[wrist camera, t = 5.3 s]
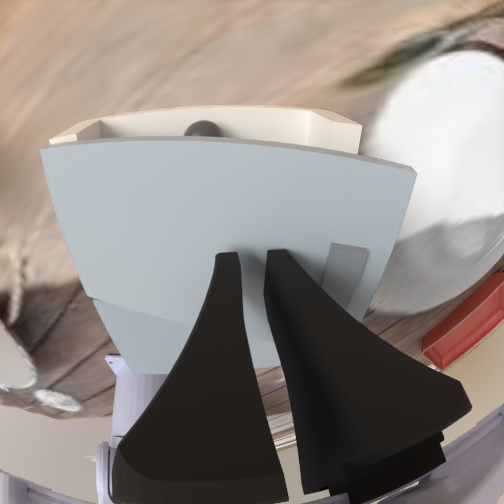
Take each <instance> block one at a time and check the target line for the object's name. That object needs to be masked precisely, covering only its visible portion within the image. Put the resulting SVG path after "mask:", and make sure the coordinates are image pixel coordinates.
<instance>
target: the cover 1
mask: <svg viewBox="0 0 504 504" xmlns="http://www.w3.org/2000/svg"><path fill="white" fill-rule="evenodd" d="M40 152H41V157H42V162H43V167H44V171H45V175H46V180H47V184H48V188H49V191H50V195H51V199H52V202H53V206H54V209H55V212H56V215H57V219H58V222H59V225H60V228H61V231H62V234H63V237H64V239H65V242H66V245H67V248H68V250H69V253H70V256H71V258H72V261H73V263H74V266H75V268H76V271H77V273H78V275H79V278H80V280H81V282H82V285H83V287H84V289H85V291H86V294H87V296H90V297H93V298H96V299H99V300H102V301H105V302H108V303H111V304H115V305H118V306H121V307H125V308H128V309H131V310H135V311H138V312H142V313H145V314H149V315H152V316H156V317H160V318H164V319H167V320H171V321H175V322H179V323H183V324H187V325H192V326H194V325H195V323H196V320H197V318H198V315H199V313H200V310H201V308H202V306H203V303H204V300H205V297H206V294H207V291H208V288H209V285H210V282H211V278H212V274H213V270H214V264H215V255H216V254H218V253H222V252H237V253H238V256H239V260H240V264H241V276H242V295H243V312H244V322H245V328H246V333H247V338H253V339H258V340H264V341H269V342H274V340H273V336H272V333H271V330H270V326H269V323H268V319H267V314H266V308H265V302H264V296H263V290H264V280H265V269H266V259H267V250H276V249H286V250H287V251H288V252H289V253H290V254H291V256H292V257H293V258H294V259H295V260H296V261H297V262H298V263H299V264H300V265H301V267H302V268H303V269H304V270H305V271H306V272H307V273H308V274H309V275H310V276H311V277H312V278H313V279H314V281H315V282H316V283H317V284H318V285H319V286H320V287H321V288H322V289H323V290H324V291H325V292H326V293H327V294H328V295H329V296H330V297H331V298H332V299H333V300H335V301H336V302H337V303H338V304H339V305H340V306H341V307H342V308H343V309H344V310H345V311H347V312H348V313H349V314H350V315H351V316H353V317H354V318H355V319H356V320H357V321H359V322H360V323H361V322H362V320H363V317H364V315H365V313H366V311H367V309H368V307H369V305H370V303H371V300H372V298H373V296H374V294H375V291H376V289H377V287H378V285H379V282H380V280H381V277H382V275H383V273H384V270H385V268H386V265H387V263H388V260H389V258H390V255H391V252H392V250H393V247H394V244H395V242H396V239H397V236H398V233H399V231H400V228H401V225H402V222H403V219H404V216H405V213H406V210H407V207H408V203H409V200H410V197H411V194H412V190H413V187H414V183H415V180H416V176H417V173H416V172H415V171H414V170H413V168H412V167H410V166H406V165H402V164H398V163H394V162H390V161H386V160H381V159H377V158H372V157H368V156H363V155H358V154H353V153H348V152H342V151H337V150H331V149H325V148H319V147H312V146H305V145H298V144H290V143H282V142H273V141H263V140H252V139H240V138H225V137H203V136H139V137H118V138H103V139H91V140H81V141H72V142H64V143H56V144H49V145H47V146H45V147H43V148H41V149H40Z"/></svg>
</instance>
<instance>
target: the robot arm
mask: <svg viewBox="0 0 504 504" xmlns="http://www.w3.org/2000/svg"><path fill="white" fill-rule="evenodd" d="M263 296H264V302H265V308H266V314H267V319H268V323H269V326H270V330H271V333H272V336H273V340H274V343H275V346H276V350H277V353H278V356H279V359H280V363H281V366H282V369H283V372H284V376H285V380H286V384H287V389H288V394H289V400H290V405H291V410H292V416H293V422H294V428H295V435H296V441H297V448H298V455H299V464H300V472H301V482H302V488H303V492H304V495H306V494H311V493H315V492H319V491H323V490H327V489H329V493H330V497H326V498H323V499H319V500H315V501H311V502H307V503H303V504H370V503H372V502H374V501H377V500H380V499H382V498H384V497H386V496H389V495H390V496H389V497H387V498H385V499H383V500H382V501H380V502H378V503H377V504H496V503H497V502H498V500H499V499H500V497H501V496H502V494H503V493H504V404H503V405H501V406H500V407H498V408H497V409H495V410H494V411H493V412H491V413H490V414H489V415H487V416H486V417H485V418H483V419H482V420H481V421H479V422H478V423H477V424H476V426H475V427H473V428H472V429H470V430H469V431H467V432H466V433H464V434H463V435H461V436H460V437H458V438H457V439H455V440H454V441H452V442H451V443H449V444H448V445H446V446H444V447H443V448H442V447H441V445H440V442H442V441H444V436H443V433H442V430H444V429H445V428H447V427H448V426H450V425H452V424H453V423H454V422H456V421H457V420H459V419H460V418H462V417H463V416H464V415H466V414H467V413H468V412H469V411H471V408H472V405H471V403H470V401H469V398H468V396H467V394H466V392H465V390H464V388H463V386H462V384H461V382H460V381H458V380H456V379H454V378H451V377H449V376H447V375H445V374H442V373H440V372H438V371H436V370H434V369H431V368H429V367H428V366H426V365H424V364H422V363H420V362H418V361H417V360H415V359H413V358H411V357H409V356H408V355H406V354H404V353H403V352H401V351H399V350H398V349H396V348H395V347H393V346H392V345H390V344H389V343H387V342H386V341H384V340H383V339H381V338H380V337H378V336H377V335H376V334H374V333H373V332H372V331H370V330H369V329H368V328H366V327H365V326H364V325H363V324H361V323H360V322H359V321H357V320H356V319H355V318H354V317H353V316H351V315H350V314H349V313H348V312H347V311H345V310H344V309H343V308H342V307H341V306H340V305H339V304H338V303H337V302H336V301H335V300H333V299H332V298H331V297H330V296H329V295H328V294H327V293H326V292H325V291H324V290H323V289H322V288H321V287H320V286H319V285H318V284H317V283H316V282H315V281H314V279H313V278H312V277H311V276H310V275H309V274H308V273H307V272H306V271H305V270H304V269H303V268H302V267H301V265H300V264H299V263H298V262H297V261H296V260H295V259H294V258H293V257H292V256H291V254H290V253H289V252H288V251H287V250H286V249H276V250H267V259H266V269H265V280H264V290H263ZM105 360H106V361H107V363H108V364H109V366H110V367H111V369H112V370H113V372H114V373H115V374H116V376H117V379H116V388H115V397H114V407H113V418H112V433H111V438H110V446H108V442H103V443H102V444H100V445H99V446H98V449H97V461H96V485H97V493H98V499H99V504H275V503H281V502H286V501H289V497H288V492H287V488H286V483H285V478H284V473H283V471H282V467H281V464H280V461H279V458H278V455H277V451H276V448H275V445H274V441H273V438H272V435H271V431H270V428H269V424H268V421H267V417H266V414H265V410H264V406H263V402H262V398H261V394H260V391H259V387H258V383H257V379H256V374H255V370H254V366H253V361H252V357H251V352H250V348H249V343H248V338H247V333H246V328H245V322H244V312H243V295H242V276H241V264H240V260H239V256H238V253H237V252H222V253H218V254H216V255H215V264H214V270H213V274H212V278H211V282H210V285H209V288H208V291H207V294H206V297H205V300H204V303H203V306H202V308H201V310H200V313H199V315H198V318H197V320H196V323H195V325H194V327H193V329H192V332H191V334H190V336H189V338H188V340H187V342H186V344H185V346H184V348H183V350H182V352H181V353H180V355H179V357H178V359H177V361H176V362H175V364H174V366H173V368H172V369H171V371H170V373H169V374H132V372H131V371H130V369H129V368H128V366H127V364H126V363H125V361H124V359H123V358H122V356H117V355H107V356H106V358H105ZM417 481H419V483H418V485H416V486H413V487H410V488H407V489H405V490H401V489H403V488H405V487H407V486H409V485H411V484H413V483H415V482H417ZM399 490H401V491H399ZM109 491H110V492H109ZM397 491H399V492H397ZM395 492H396V493H395ZM393 493H394V494H393ZM391 494H392V495H391ZM0 504H95V503H90V502H87V501H83V500H79V499H76V498H72V497H69V496H66V495H62V494H59V493H56V492H53V491H52V490H51V489H48V488H46V487H43V486H40V485H38V484H35V483H33V482H30V481H28V480H25V479H23V478H20V477H16V476H14V475H11V474H9V473H7V472H5V471H3V470H1V469H0Z"/></svg>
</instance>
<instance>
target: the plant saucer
mask: <svg viewBox="0 0 504 504" xmlns="http://www.w3.org/2000/svg"><path fill="white" fill-rule="evenodd" d="M503 319H504V272H497V273H494V274H492V275H491V276H490V277H489V278H488V279H487V280H486V281H485V282H484V283H483V284H482V285H481V286H480V287H479V288H478V289H477V290H476V291H475V292H474V293H473V294H472V295H471V296H470V297H469V298H468V299H467V300H466V301H465V302H463V303H462V304H461V305H460V306H459V307H458V308H457V309H456V310H454V311H453V312H452V313H451V314H450V315H449V316H447V317H446V318H445V319H444V320H443V321H441V322H440V323H439V324H438V325H436V326H435V327H434V328H433V329H431V330H430V331H429V332H428V333H427V334H426V335H425V338H424V342H423V345H422V351H421V355H422V356H423V357H424V358H426V359H427V360H428V361H429V362H431V363H432V364H433V365H434V366H435V367H436V368H438V369H439V370H443V369H444V368H446V367H447V366H449V365H450V364H451V363H453V362H454V361H455V360H457V359H458V358H459V357H460V356H462V355H463V354H464V353H466V352H467V351H468V350H469V349H470V348H472V347H473V346H474V345H475V344H476V343H478V342H479V341H480V340H481V339H482V338H483V337H485V336H486V335H487V334H488V333H489V332H490V331H491V330H492V329H493V328H495V327H496V326H497V325H498V324H499V323H500V322H501V321H502V320H503Z"/></svg>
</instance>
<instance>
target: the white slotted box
mask: <svg viewBox="0 0 504 504" xmlns="http://www.w3.org/2000/svg"><path fill="white" fill-rule="evenodd" d="M361 131H362V125H360V124H358V123H356V122H354V121H352V120H349V119H347V118H345V117H343V116H341V115H338V114H336V113H334V112H331V111H329V110H321V109H312V108H301V107H288V106H270V105H202V106H185V107H172V108H161V109H152V110H144V111H136V112H129V113H123V114H117V115H111V116H105V117H100V118H95V119H90V120H85V121H82V122H80V123H78V124H76V125H74V126H73V127H71V128H69V129H67V130H65V131H64V132H62V133H60V134H58V135H57V136H55V137H53V138H52V139H50V140H49V141H50V144H56V143H64V142H72V141H81V140H91V139H103V138H118V137H139V136H203V137H225V138H240V139H252V140H263V141H273V142H282V143H290V144H298V145H305V146H312V147H319V148H325V149H331V150H337V151H342V152H348V153H353V154H358V148H359V143H360V137H361Z"/></svg>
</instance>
